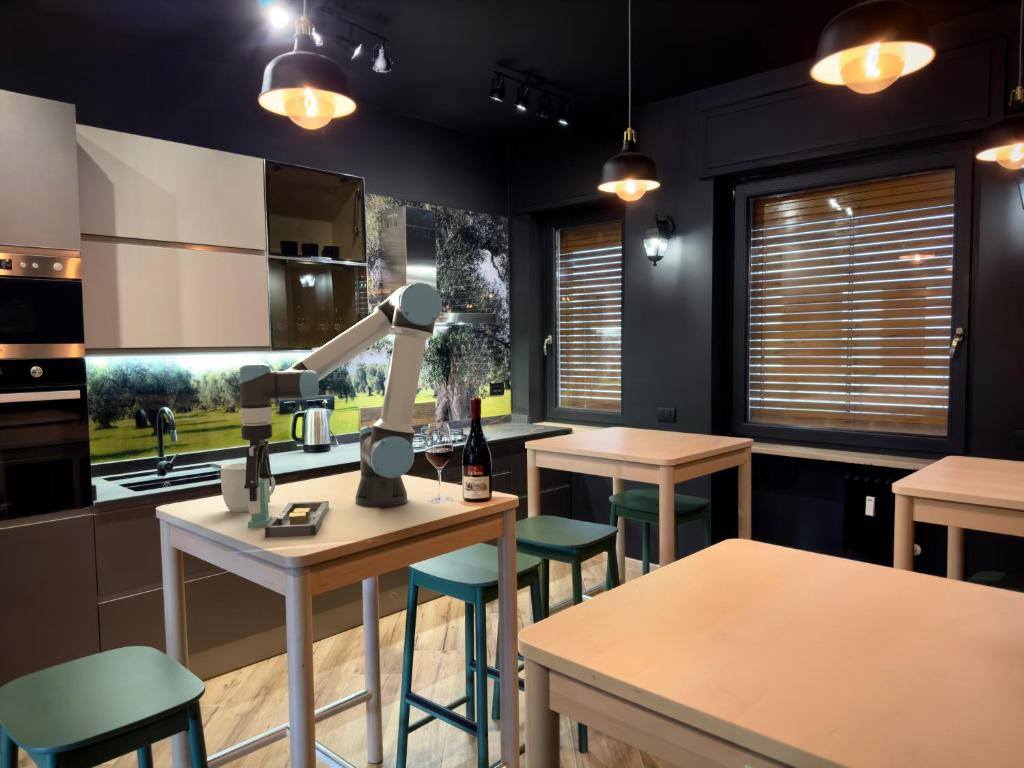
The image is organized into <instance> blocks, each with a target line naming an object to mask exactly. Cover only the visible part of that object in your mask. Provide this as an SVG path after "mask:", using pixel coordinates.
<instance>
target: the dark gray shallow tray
mask: <svg viewBox="0 0 1024 768" xmlns="http://www.w3.org/2000/svg"><path fill="white" fill-rule="evenodd" d="M329 504H330V503H329V500H322V501H318V500H317V501H301V502H300V501H299V502H298V501H297V502H288V503H287V505H286V506H285V507H284V508H283V510H281V512H280V513H279V514H278V516H277V517H278V521H279V526H283V525H290V521H289V516H290V513H293V511H294V510H295V509H296V508H311V518H310V519H309V521H306V524H312V522H313V520H314V519H315V517H316V515H321V520H322V521H323V520H324V517H325V516H326V514H327V513H328V510H329V509H330V505H329Z"/></svg>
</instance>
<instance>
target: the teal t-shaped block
mask: <svg viewBox="0 0 1024 768" xmlns="http://www.w3.org/2000/svg"><path fill="white" fill-rule="evenodd" d="M258 485H259V486H258V487H260V510H261V513H254V514H251V515H250V516H251V518H250V519H249V520H248V521H247V528H248V529H249V528H265V527H266V526H267V524H268V523H269V522H270V521H271V520H272V518H273V515H269V503H268V485H267V479H266V480H259V484H258Z"/></svg>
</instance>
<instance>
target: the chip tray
mask: <svg viewBox="0 0 1024 768" xmlns="http://www.w3.org/2000/svg"><path fill="white" fill-rule="evenodd" d="M322 523H323V520H321V515H316V517H315V519H314V520H313V522H312V524H304V525H283V526H279V521H278V516H272V520H271V521H270V522H269V523H268V524H267V526H266V527H264V538H265V539H269V538H270V539H272V538H291V537H292V538H293V537H311V536H313V537H314V536H317V534H318V532H319V531H320V528H321V526H322Z"/></svg>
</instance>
